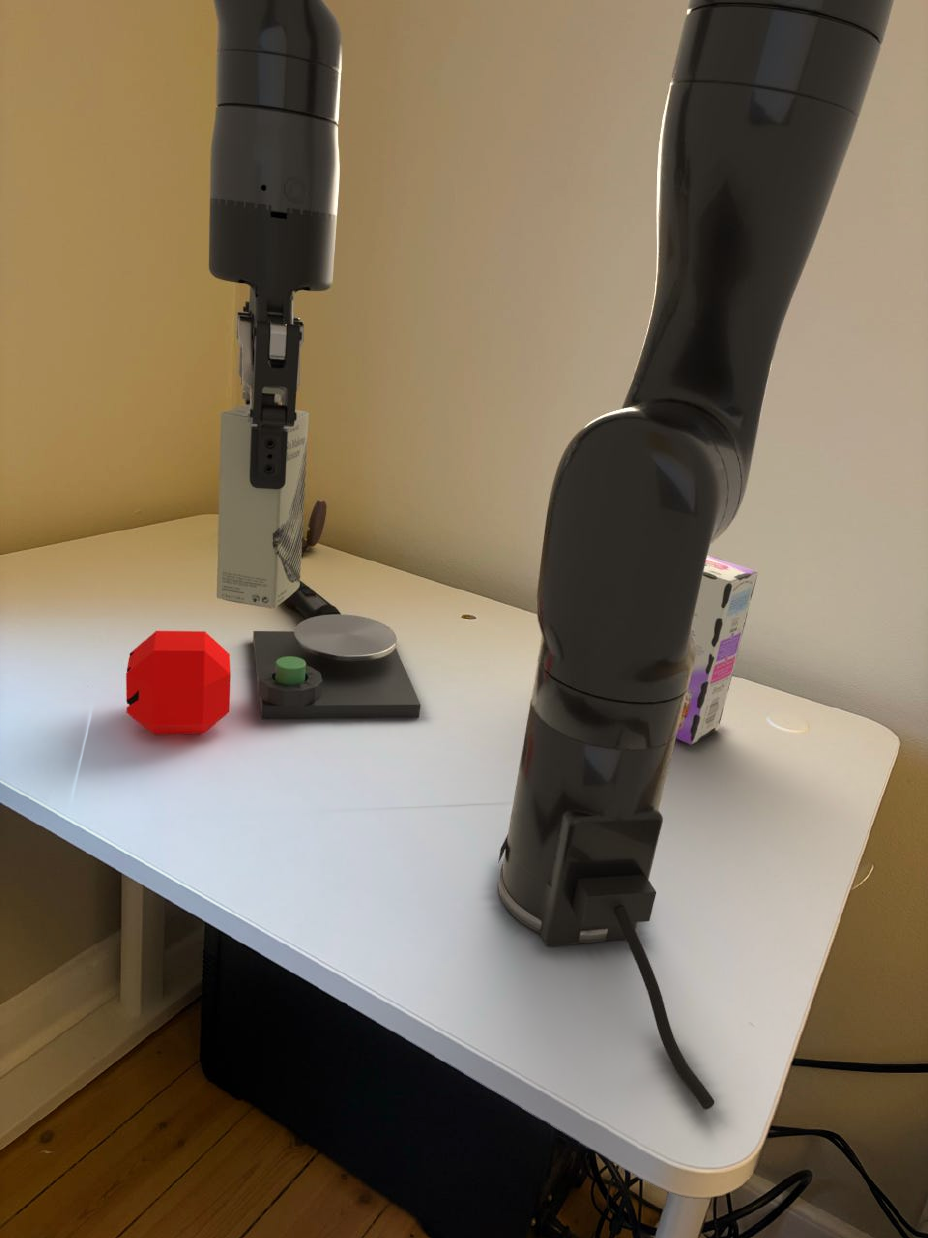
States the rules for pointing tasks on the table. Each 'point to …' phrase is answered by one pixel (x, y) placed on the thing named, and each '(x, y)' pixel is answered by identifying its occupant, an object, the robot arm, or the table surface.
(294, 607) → the electric trimmer
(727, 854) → the table surface
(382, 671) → the scale
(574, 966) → the table surface
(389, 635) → the weighing pan
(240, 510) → the box
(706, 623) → the candy box
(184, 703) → the red chamfered polyhedron
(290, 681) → the tare button
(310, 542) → the compass
